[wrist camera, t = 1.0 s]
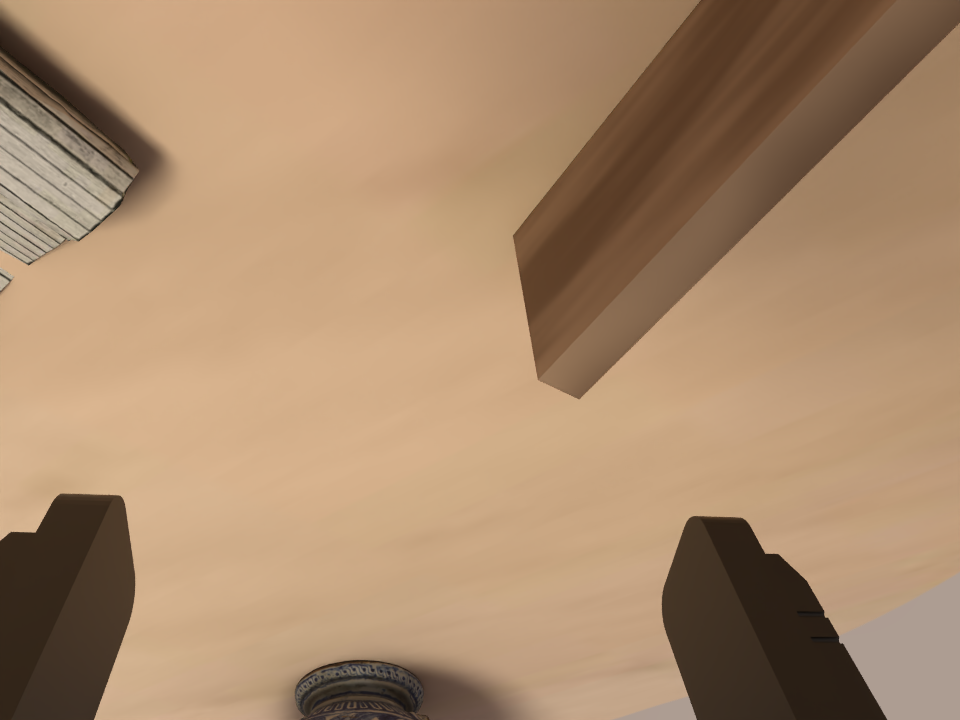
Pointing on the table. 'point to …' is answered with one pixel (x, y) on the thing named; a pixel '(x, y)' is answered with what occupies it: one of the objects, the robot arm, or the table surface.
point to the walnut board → (702, 162)
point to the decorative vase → (360, 693)
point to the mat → (51, 168)
